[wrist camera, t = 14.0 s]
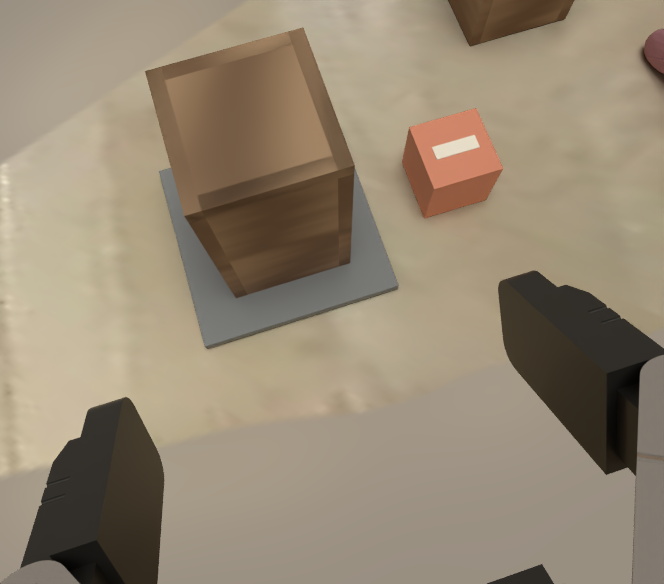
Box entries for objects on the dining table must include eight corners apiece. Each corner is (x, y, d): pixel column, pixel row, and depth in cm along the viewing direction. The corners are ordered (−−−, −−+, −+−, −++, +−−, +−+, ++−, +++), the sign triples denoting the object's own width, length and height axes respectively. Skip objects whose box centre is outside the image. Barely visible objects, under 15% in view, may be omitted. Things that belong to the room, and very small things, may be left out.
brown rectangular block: (314, 162, 31) (303, 27, 22) (350, 262, 29) (354, 165, 20) (206, 194, 31) (145, 70, 21) (236, 298, 29) (184, 215, 19)
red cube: (461, 145, 32) (476, 107, 29) (485, 200, 31) (503, 167, 28) (402, 162, 32) (409, 126, 28) (424, 219, 31) (434, 188, 27)
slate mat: (336, 125, 32) (336, 119, 32) (397, 289, 30) (398, 285, 29) (162, 176, 32) (158, 171, 31) (207, 348, 29) (204, 346, 28)
